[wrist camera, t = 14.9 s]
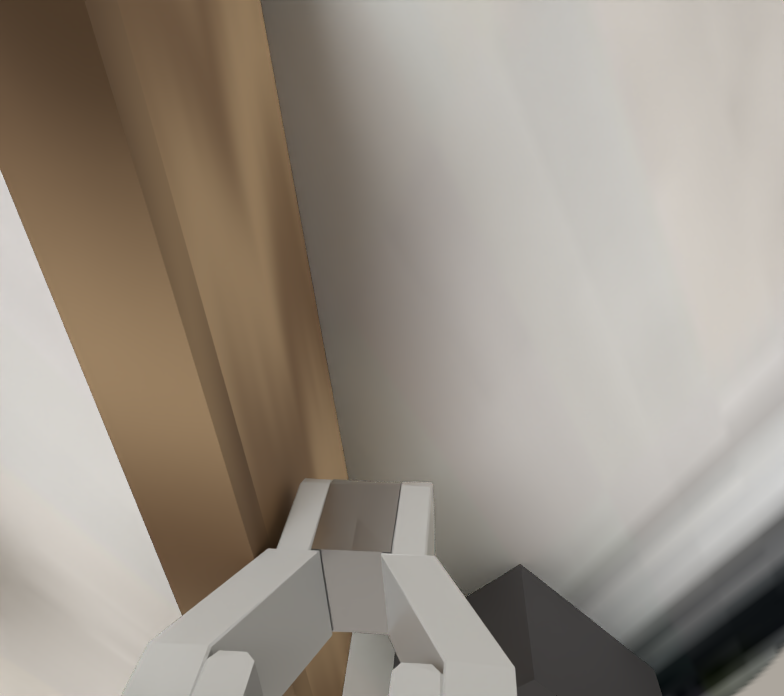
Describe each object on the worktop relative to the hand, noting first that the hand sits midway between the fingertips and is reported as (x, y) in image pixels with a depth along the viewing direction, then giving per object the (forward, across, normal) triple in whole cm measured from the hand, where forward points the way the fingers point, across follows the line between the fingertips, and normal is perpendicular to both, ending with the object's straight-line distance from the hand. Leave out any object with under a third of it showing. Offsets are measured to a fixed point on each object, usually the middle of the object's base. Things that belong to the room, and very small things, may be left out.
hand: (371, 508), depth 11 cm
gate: (+4, +2, -1) cm, 4 cm away
